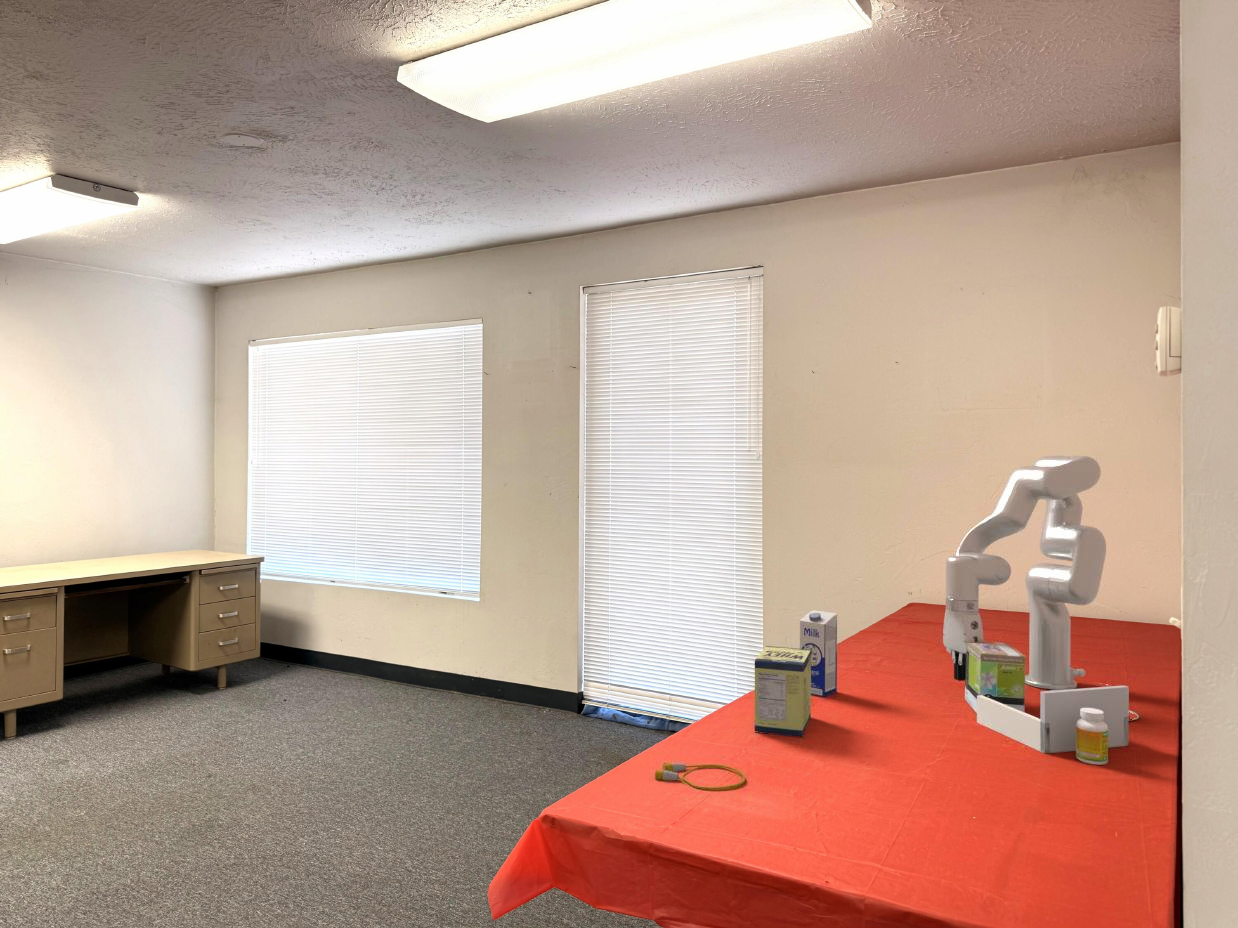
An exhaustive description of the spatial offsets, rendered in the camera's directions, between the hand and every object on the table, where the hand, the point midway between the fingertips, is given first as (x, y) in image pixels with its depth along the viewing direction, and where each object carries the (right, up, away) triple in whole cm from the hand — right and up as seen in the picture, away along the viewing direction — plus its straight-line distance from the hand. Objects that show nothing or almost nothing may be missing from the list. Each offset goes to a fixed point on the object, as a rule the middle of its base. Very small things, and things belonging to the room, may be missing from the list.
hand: (961, 679), depth 204 cm
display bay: (+7, -4, -27) cm, 29 cm away
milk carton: (-35, -4, +3) cm, 35 cm away
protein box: (-49, -4, -23) cm, 54 cm away
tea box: (+3, -4, -11) cm, 13 cm away
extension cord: (-70, -4, -54) cm, 88 cm away
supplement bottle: (+7, -4, -44) cm, 45 cm away
